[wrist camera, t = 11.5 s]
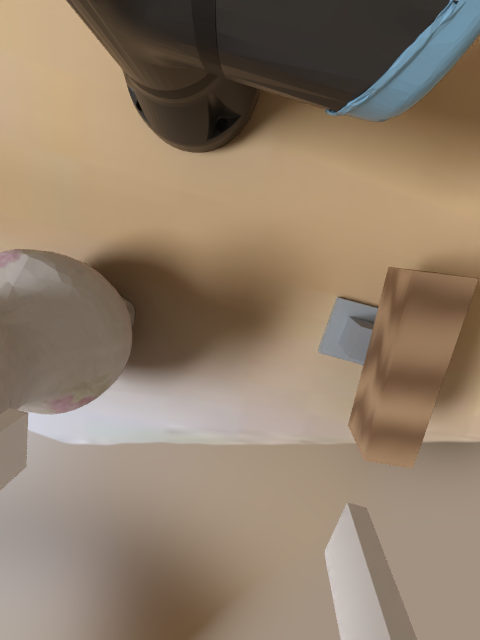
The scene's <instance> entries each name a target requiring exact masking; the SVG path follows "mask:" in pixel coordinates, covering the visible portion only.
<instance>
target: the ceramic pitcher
mask: <svg viewBox="0 0 480 640" xmlns="http://www.w3.org/2000/svg"><path fill="white" fill-rule="evenodd" d="M134 317H135V309H134V307H133V305H132V304H131V302H129V301H127V300H126V299H124V298H123V297H122V296H120V295H119V294H118V292H117V291H116V289H115V288H114V287H113V286H112V285H111V284H110V283H109V282H108V281H107V280H106V279H105V278H104V277H103V276H102V275H101V274H100V273H98V272H97V271H96V270H94V269H93V268H91V267H90V266H89V265H87V264H85V263H83V262H80V261H78V260H75V259H73V258H70V257H68V256H65V255H61V254H58V253H54V252H47V251H38V250H28V249H14V250H10V251H5V252H1V253H0V414H1V413H2V412H4V411H6V410H7V409H9V408H13V409H16V410H22V411H27V412H33V413H39V414H58V413H65V412H68V411H72V410H75V409H77V408H80V407H82V406H84V405H86V404H88V403H90V402H91V401H93V400H94V399H96V398H97V397H99V396H100V395H101V394H102V393H104V392H105V391H106V390H107V389H108V388H109V387H110V386H111V385H112V384H113V383H114V382H115V381H116V380H117V379H118V377H119V376H120V374H121V373H122V371H123V370H124V368H125V366H126V364H127V361H128V359H129V356H130V352H131V346H132V327H133V326H134Z"/></svg>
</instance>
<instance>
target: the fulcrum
mask: <svg viewBox="0 0 480 640" xmlns="http://www.w3.org/2000/svg"><path fill="white" fill-rule="evenodd" d="M377 311H378V308H377V307H373V306H370V305H366V304H362V303H359V302H355V301H351V300H347V299H344V298H340V297H337V299H336V302H335V304H334V307H333V310H332V313H331V315H330V318H329V321H328V324H327V326H326V329H325V332H324V335H323V338H322V340H321V343H320V346H319V349H318V351H319V353H322V354H325V355H329V356H333V357H336V358H340V359H343V360H347V361H351V362H354V363H358V364H362V365H364V361H365V358H366V354H367V350H368V346H369V342H370V338H371V334H372V330H373V326H374V322H375V318H376V315H377Z"/></svg>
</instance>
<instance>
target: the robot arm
mask: <svg viewBox="0 0 480 640" xmlns="http://www.w3.org/2000/svg"><path fill="white" fill-rule="evenodd" d="M66 1H67V2H68V3H69V4H70V6H71V7H72V8H73V9H74V10H75V12H76V13H77V14H78V15H79V17H80V18H81V19H82V20H83V22H84V23H85V24H86V25H87V26H88V28H89V29H90V30H91V31H92V33H93V34H94V35H95V36H96V38H97V39H98V40H99V41H100V42H101V44H102V45H103V46H104V47H105V49H106V50H107V51H108V52H109V54H110V55H111V56H112V57H113V58H114V60H115V61H116V62H117V63H118V65H119V66H120V67H121V68H122V70H123V73H124V76H125V80H126V83H127V86H128V90H129V93H130V96H131V98H132V101H133V103H134V105H135V107H136V109H137V111H138V113H139V114H140V116H141V117H142V119H143V120H144V121H145V123H146V124H147V125H148V126H149V127H150V128H151V129H152V130H153V132H154V133H155V134H156V135H157V136H158V137H160V138H161V139H162V140H163V141H165V142H166V143H168V144H169V145H171V146H173V147H175V148H177V149H180V150H183V151H188V152H206V151H210V150H214V149H216V148H219V147H221V146H223V145H225V144H226V143H228V142H229V141H231V140H232V139H233V138H234V137H235V136H236V135H237V134H238V133H239V132H240V131H241V130H242V129H243V128H244V126H245V125H246V123H247V122H248V120H249V119H250V117H251V115H252V113H253V111H254V108H255V106H256V103H257V100H258V96H259V91H260V89H261V90H264V91H267V92H270V93H274V94H277V95H280V96H284V97H287V98H290V99H293V100H297V101H300V102H303V103H307V104H310V105H313V106H316V107H320V108H323V109H325V110H326V113H327V114H329V115H332V116H339V115H347V116H351V117H355V118H359V119H363V120H368V121H372V122H381V121H385V120H387V119H390V118H392V117H396V116H398V115H400V114H402V113H404V112H405V111H407V110H408V109H410V108H411V107H412V106H414V105H415V104H416V103H417V102H418V101H420V100H421V99H422V98H423V97H424V96H425V95H426V94H427V93H428V92H429V91H431V90H432V89H433V88H434V87H435V86H436V84H437V83H438V82H439V81H440V80H441V79H442V78H443V77H444V76H445V75H446V74H447V73H448V72H449V70H450V69H451V68H452V67H453V66H454V65H455V64H456V62H457V61H458V60H459V59H460V58H461V57H462V55H463V54H464V53H465V52H466V50H467V49H468V48H469V47H470V45H471V44H472V43H473V42H474V41H475V39H476V38H477V37H478V35H479V34H480V0H66ZM27 430H28V413H27V412H23V411H20V410H16V409H13V408H9V409H7V410H6V411H4V412H2V413H1V414H0V490H1V489H2V488H3V487H5V486H6V485H7V484H8V483H9V482H10V481H11V480H12V479H13V478H14V477H16V476H17V475H18V474H19V473H20V472H21V471H22V470H23V469H24V468H25V467H26V459H27V456H26V455H27ZM325 558H326V564H327V569H328V574H329V579H330V584H331V590H332V595H333V601H334V606H335V611H336V616H337V621H338V627H339V632H340V638H341V640H417V638H416V635H415V633H414V630H413V628H412V625H411V622H410V620H409V617H408V614H407V612H406V609H405V607H404V604H403V601H402V599H401V596H400V594H399V591H398V588H397V586H396V584H395V581H394V578H393V575H392V573H391V570H390V568H389V565H388V562H387V560H386V557H385V555H384V552H383V549H382V547H381V544H380V542H379V539H378V536H377V534H376V531H375V528H374V526H373V523H372V521H371V518H370V516H369V513H368V510H367V508H365V507H361V506H358V505H354V504H351V503H347V504H346V506H345V509H344V511H343V513H342V515H341V517H340V520H339V522H338V524H337V526H336V528H335V530H334V533H333V535H332V537H331V539H330V541H329V543H328V545H327V548H326V550H325Z"/></svg>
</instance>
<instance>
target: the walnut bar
mask: <svg viewBox="0 0 480 640" xmlns="http://www.w3.org/2000/svg"><path fill="white" fill-rule="evenodd" d="M477 282H478V279H477V278H470V277H463V276H456V275H449V274H442V273H435V272H426V271H418V270H410V269H401V268H393V267H389V268H388V272H387V276H386V279H385V283H384V287H383V291H382V295H381V299H380V303H379V307H378V311H377V315H376V318H375V322H374V326H373V330H372V334H371V338H370V342H369V346H368V350H367V354H366V358H365V361H364V365H363V369H362V373H361V377H360V381H359V385H358V389H357V393H356V397H355V400H354V404H353V408H352V412H351V416H350V420H349V424H348V426H349V428H350V430H351V432H352V435H353V437H354V439H355V441H356V443H357V445H358V447H359V450H360V452H361V454H362V456H363V458H364V460H365V461H371V462H376V463H383V464H389V465H395V466H401V467H407V468H413V467H414V464H415V461H416V458H417V455H418V452H419V449H420V446H421V443H422V441H423V438H424V435H425V432H426V429H427V426H428V423H429V420H430V418H431V415H432V412H433V409H434V406H435V403H436V400H437V397H438V394H439V392H440V389H441V386H442V383H443V380H444V377H445V374H446V371H447V368H448V366H449V363H450V360H451V357H452V354H453V351H454V348H455V345H456V342H457V340H458V337H459V334H460V331H461V328H462V325H463V322H464V319H465V316H466V314H467V311H468V308H469V305H470V302H471V299H472V296H473V293H474V290H475V288H476V285H477Z"/></svg>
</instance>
